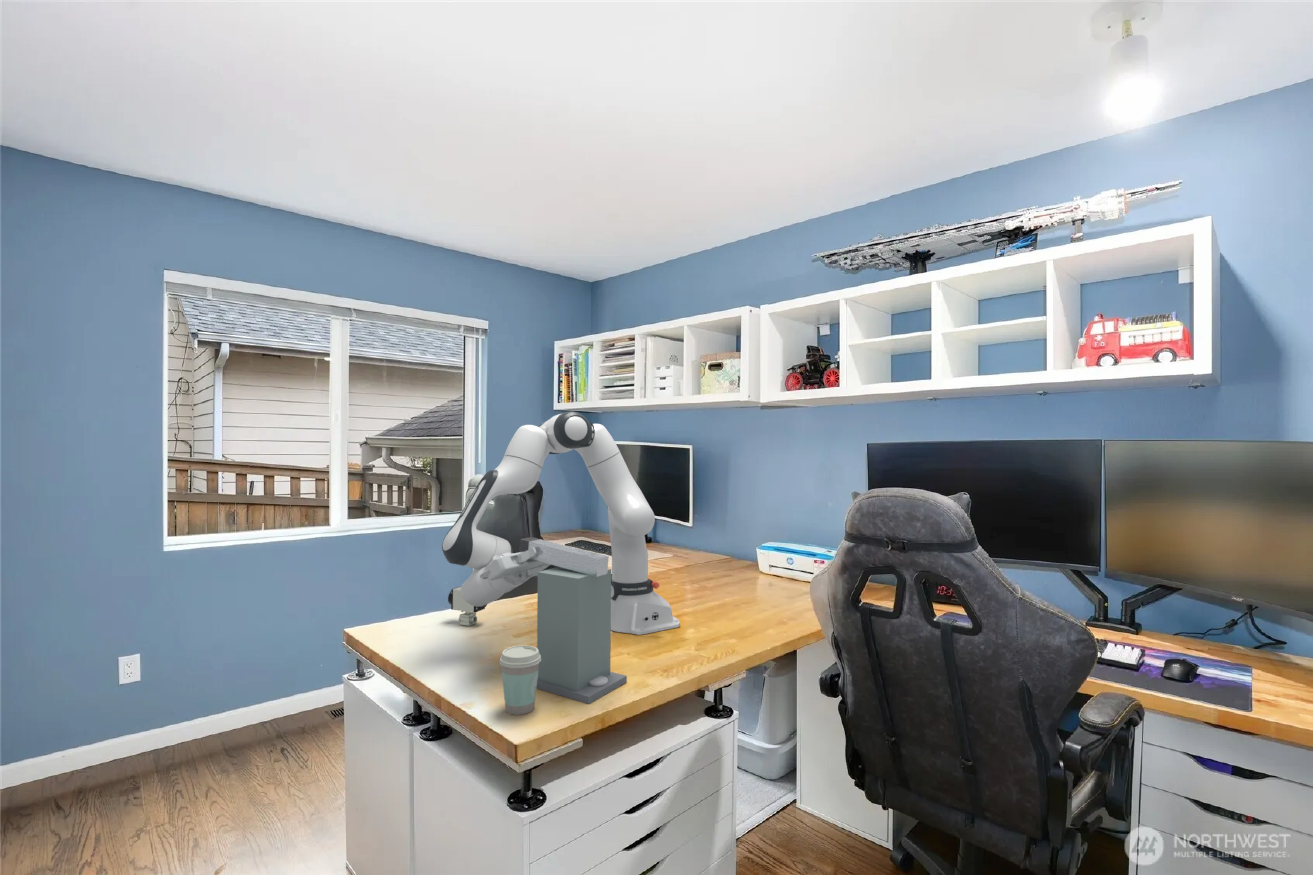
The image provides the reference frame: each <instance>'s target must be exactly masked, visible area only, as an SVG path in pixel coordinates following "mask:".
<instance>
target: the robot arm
mask: <svg viewBox="0 0 1313 875" xmlns="http://www.w3.org/2000/svg"><path fill="white" fill-rule="evenodd" d="M573 450H574V451H576V452H577V453H578V454H579V455H580V456H581V458H582V460H583V462H584V464H585V467H586V468H587V470H588V473H589V475H590V477H591V479H592V481H593V483H594V485H595V487H596V490H597V492H598V493H599V494H600V496H601V497H602V499H603V501H604V502H605V504H606V506H607V507H608V509H607V516H608V528H609V540H610V547H611V548H610V549H611V631H613V632H618V633H624V634H625V633H627V634H633V635H638V636H642V635H646V634H652V633H657V632H661V631H667V630H671V629H677V628H680V626H681V623H680V620H679V618H677V617H676V616H673V609H672V606H671V605H670V603H669V601H668V600H666V599H665V598H664V597H662V596H661V595H660V594H658V592H656V591H655V590H654V589H659V587H660V582H658V581H656V580H652V579H650V578H649V553H648V552H649V551H648V548H647V542H646V536H645V535H648V534H649V533H650V532H651V531H652V530H653V528H654V526H655V522H656V516H655V513H654V511H653V509H652V508H651V506H650V504H649V502H648V501H647V499H646V497H645V495H644V493H643V492H642V490H641V489H640V487H639V486H638V484H637V482H636V481H635V479H634V478H633V476H632V473H631V472H630V470H629V467H628V465H627V463H626V461H625V459H624V458H623V455H622V453H621V450H620V449H619V447H618V445H617V443H616V441H615V439H614V438H613V436H612V435H611V434H610V432H609V430H608V428H606V427H605V426H604V425H603V424H600V423H592V422H590V420H588V418H587V417H586V416H584V415H583V414H582V413H581V412H577V411H564V412H562V413H558V414H556V415H553V416H552V417H551V418H549V419H548V420H545V421H543V422H542V423H541V424H540V425H539V426H537V425H534V424H524V425H522V426H519V428H518V429H517V430H516V431H515V433H514V435H513V436H512V437H511V440H510V441H509V443H508V446H507V447H506V450H505V453H504V455H503V457H502V459H501V461H500V463H499V464H498V466H496V468H495V469H493V470H492V469H491V470H488V471H487V472H486V473H485V474H484V475H483V476H482V478H481V479H480V480H479V482H478V483H477V485H476V487H475V488H474V489H473V492H472V494H471V495H470V496H469V499H468V500H467V503H466V504H465V505H464V507H463V509H462V511H461V513H460V514H459V516H458V518H457V520H456V521H455V523H454V524H453V525H452V526H451V527H450V529H449V530H448V531H447V533H446V535H445V536H444V538H443V541H442V544H441V550H442V553H443V556H444V557H445V559H446V561H447V562H448V563H449V564H452V565H458V566H462V567H463V566H464V567H467V568H471V569H473V570H472V572H471V575H470V576H469V577H468V578H467V579H466V580H464V582H463V583H462V585H460V586H461V595H462V597H463V599H464V600H465V601H466V602H467V603H468V604H470V605H472V606H476V607H479V606H484V605H487V606H488V605H489V604H492V602H493V603H494V602H495V601H496V600H498V599H500V598H501V597H502V596H503V595H504V594H507V593H510V592H511V591H513V590H514V589H516V588H517V587H519V586H520V585H523V584H524V583H525V582H527V581H529V580H532V579H534V578H536V577H538V572H540V571H544V570H546V569H547V568H548V567H550V566H552V565H551V564H548V563H544V562H541V561H537V560H533V559H530V558H532V557H534V556H536V555H537V554H539V550H538V548H537V547H533V548H531V549H529V550H527V551H525V552H519V551H518V552H515V553H513V552H514V551H513V548H512V545H511V542H509V540H507V539H505V538H502V537H500V536H498V535H494V534H491V533H487V532H485V531H482V530H480V529H478V528H477V525H478V524H479V522H480V520H481V518H482V516H484V515H483V514H484V513H485V511H486V509H487V508H488V505H489V504H490V503H491V501H492V500H493V499H494V498H495V497H497V496H501V495H515V494H516V495H518V494H523V493H527V492H528V491H531V489H533V488H534V487H535V486H536V484H537V483H538V481H539V478H540V475H541V472H542V470H543V466H544V463H545V460H546V458H547V456H548V455H549V454H550V455H557V454H558V455H559V454H564V453H569V452H571V451H573Z"/></svg>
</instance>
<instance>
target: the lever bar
mask: <svg viewBox="0 0 1313 875" xmlns="http://www.w3.org/2000/svg"><path fill="white" fill-rule="evenodd" d="M533 547H537V548H538V550H539V554H537V555H536V556H534V557H532V558H530V559H533V560H537V561H541V562H544V563H548V564H551V565H550V566H555V567H562V568H566V569H569V570H573V571H577V572H580V573H584V574H588V575H591V576H595V577H598V576H601V575H605V574H607V572H608V569H609V559H610V558H609V556H608V555H605V554H601V553H597V552H592V551H589V550H586V549H585V550H584V549H582V548H581V549H580V548H577V547H572V546H570V545H569V546H568V545H564V544H561V543H557V542H553V541H548V540H544V539H541V538H537V537H533V536H530V537H526V538H520V539H519V547H518V553H519V552H525V551H527V550H529V549H531V548H533Z"/></svg>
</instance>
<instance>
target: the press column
mask: <svg viewBox="0 0 1313 875" xmlns="http://www.w3.org/2000/svg"><path fill="white" fill-rule="evenodd" d="M611 579H612V568H608V572H607V574H605V575H601V576H598V577H595V576H591V575H588V574H584V573H580V572H577V571H573V570H569V569H566V568H562V567H559V566H555V567H552V568H549V569H544V570H542V571H540V572H538V576H537V601H536V602H537V605H536V606H537V611H536V612H537V617H536V620H537V622H536V626H537V627H536V634H537V635H536V638H537V639H536V648H538V650H539V654H540V655H541V661H540V662H539V671H538V680H537V688H536V690H537V689H538V690H541V691H544V692H548V693H550V694H554V695H558V696H560V697H564V698H568V699H571V700H575V701H578V702H581V703H584V704H588V705H590V704H592V703H593V702H595V701H597V700H598V698H599V699H600V698H602V697H604V696H605V695H607V694H610V692H612V691H614V690H616V689H617V688H619V687H621V686H623V685H625V684H626V683H627V682H628V676H627V675H625V674H622V673H617V672H615V671H614V672H613V671H611V648H612V647H611V641H612V640H611V639H612V637H611V633H612V630H611Z"/></svg>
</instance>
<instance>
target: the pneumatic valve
mask: <svg viewBox="0 0 1313 875" xmlns="http://www.w3.org/2000/svg"><path fill="white" fill-rule="evenodd" d="M461 586H462V585H460V586H457V587H455V588H451V590H450V591H449V594H447V602H448V604H449V605H450V607H451V608H450V609H451V610H452V611H458V612H459V611H460V614H459V616H458V622H459V623H458V624H459V625H460V626H464V627H471V626H472V625H475V624H477V622H478V617H477V613H478V612H481V611H483V610H485V608H486V607H487V606H488V604H487V605H484V606H479V607H476V606H472V605H470V604H468V603H467V602H466V601H465V600H464V599H463V597H462V595H461Z"/></svg>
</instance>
